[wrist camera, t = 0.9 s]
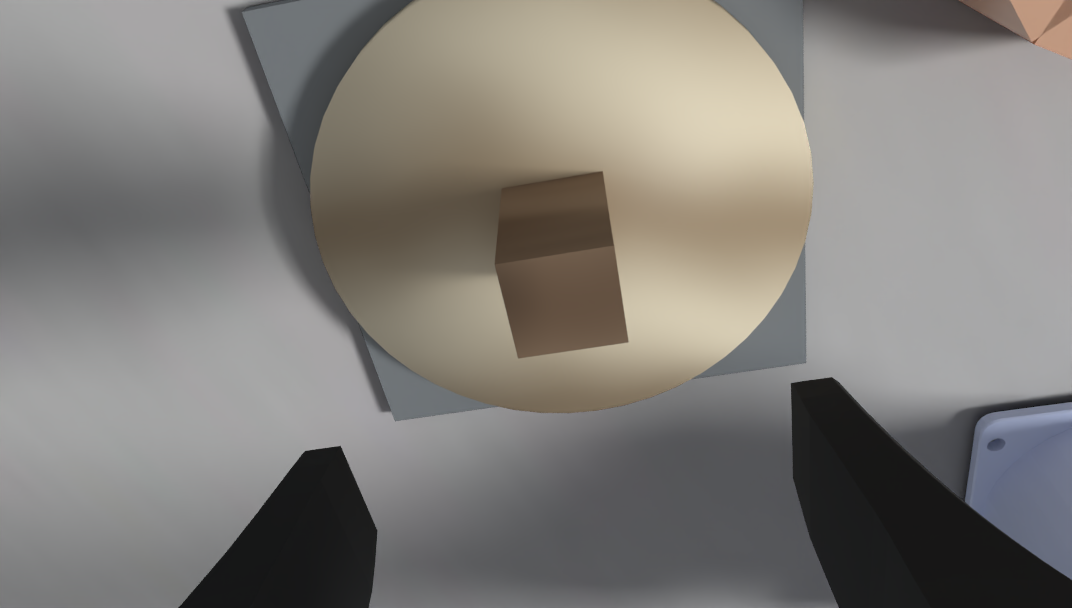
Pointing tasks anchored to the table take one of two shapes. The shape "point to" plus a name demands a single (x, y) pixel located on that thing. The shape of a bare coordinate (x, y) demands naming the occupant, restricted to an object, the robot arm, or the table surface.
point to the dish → (1032, 20)
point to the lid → (561, 195)
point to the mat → (332, 46)
